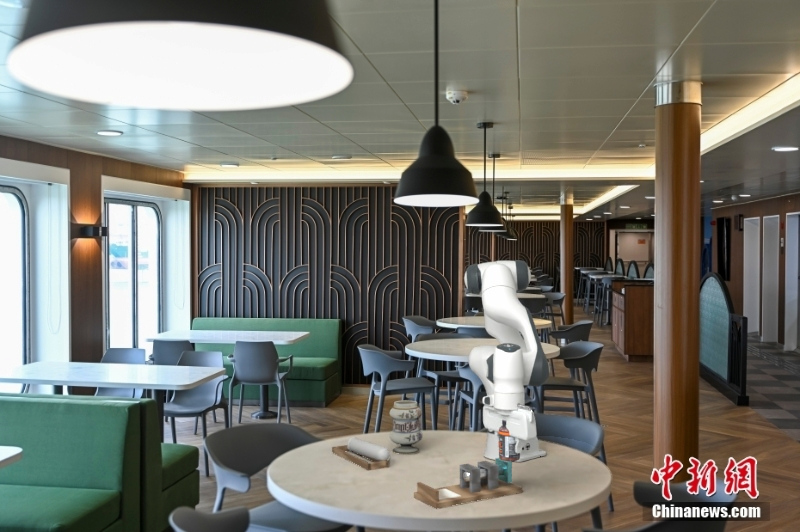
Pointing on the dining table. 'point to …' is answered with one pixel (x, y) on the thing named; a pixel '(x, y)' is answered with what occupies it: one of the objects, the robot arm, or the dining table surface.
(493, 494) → the rail
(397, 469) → the dining table surface
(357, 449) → the tube
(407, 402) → the apothecary jar
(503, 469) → the shaft
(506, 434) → the supplement bottle
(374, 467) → the tube cradle
